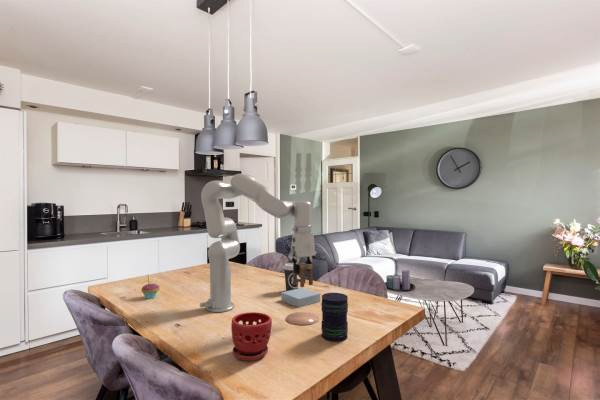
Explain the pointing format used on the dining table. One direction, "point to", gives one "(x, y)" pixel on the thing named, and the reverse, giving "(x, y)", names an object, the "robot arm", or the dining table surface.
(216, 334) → the dining table surface
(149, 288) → the cupcake
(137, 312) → the dining table surface
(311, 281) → the stool
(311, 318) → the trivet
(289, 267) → the coffee cup
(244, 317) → the plant pot
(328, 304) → the storage jar
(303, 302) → the step
